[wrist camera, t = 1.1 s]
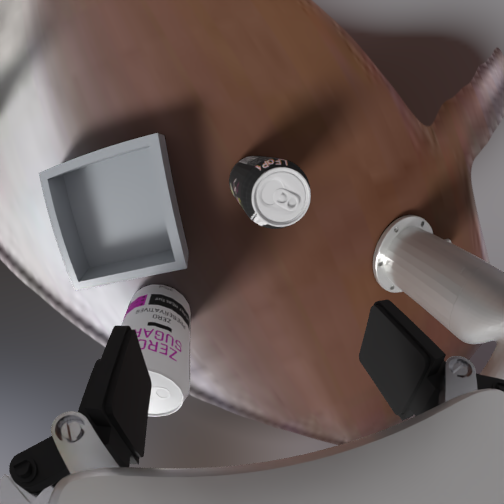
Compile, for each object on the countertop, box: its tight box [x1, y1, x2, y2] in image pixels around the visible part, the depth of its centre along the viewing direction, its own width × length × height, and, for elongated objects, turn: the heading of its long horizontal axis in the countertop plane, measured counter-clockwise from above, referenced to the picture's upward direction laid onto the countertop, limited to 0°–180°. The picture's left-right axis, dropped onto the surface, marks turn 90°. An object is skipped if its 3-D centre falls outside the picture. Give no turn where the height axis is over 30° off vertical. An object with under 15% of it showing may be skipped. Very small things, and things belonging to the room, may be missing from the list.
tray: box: [39, 133, 189, 291], centre depth 27 cm, size 14×14×5 cm
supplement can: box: [121, 284, 191, 417], centre depth 28 cm, size 8×8×15 cm
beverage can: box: [229, 156, 311, 229], centre depth 26 cm, size 6×6×12 cm
